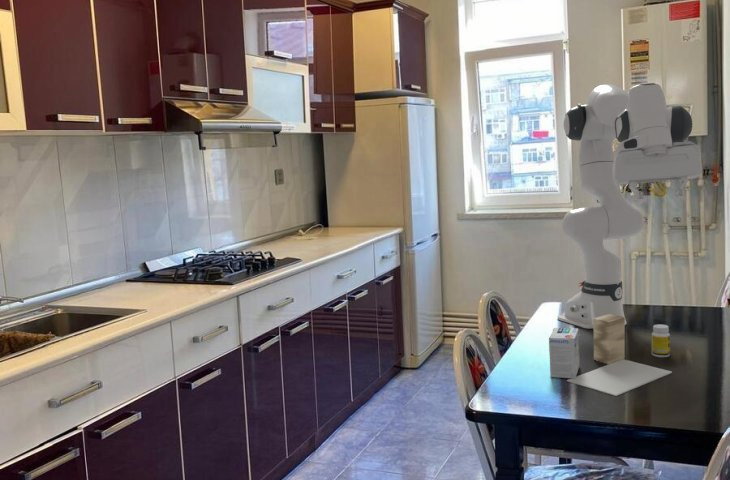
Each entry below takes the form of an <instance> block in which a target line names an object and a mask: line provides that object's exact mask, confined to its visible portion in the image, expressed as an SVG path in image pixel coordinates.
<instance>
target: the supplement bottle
mask: <svg viewBox="0 0 730 480" xmlns="http://www.w3.org/2000/svg"><path fill="white" fill-rule="evenodd" d="M652 330H653V331H652V332H651V355H652V356H654V357H656V358H668V357H670V355H671V334H670V332H669V331H670V329H669V325H667V324H659V323H658V324H654V325H653V326H652Z"/></svg>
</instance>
